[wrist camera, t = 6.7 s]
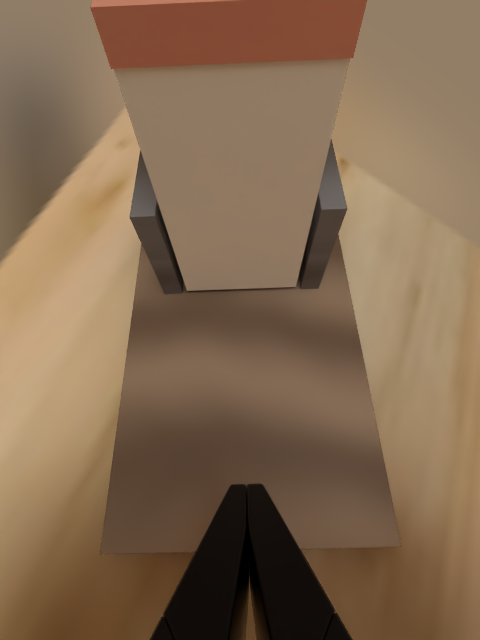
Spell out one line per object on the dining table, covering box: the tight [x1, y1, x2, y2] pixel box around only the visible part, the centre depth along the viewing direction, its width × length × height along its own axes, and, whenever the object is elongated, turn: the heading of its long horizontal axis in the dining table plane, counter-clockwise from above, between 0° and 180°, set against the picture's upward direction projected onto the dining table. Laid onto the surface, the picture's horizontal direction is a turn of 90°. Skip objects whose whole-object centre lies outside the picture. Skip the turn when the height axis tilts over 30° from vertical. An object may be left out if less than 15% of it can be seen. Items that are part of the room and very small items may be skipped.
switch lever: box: [90, 0, 367, 291], centre depth 14 cm, size 4×6×12 cm
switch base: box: [100, 139, 401, 554], centre depth 15 cm, size 19×12×7 cm, turn 2°
